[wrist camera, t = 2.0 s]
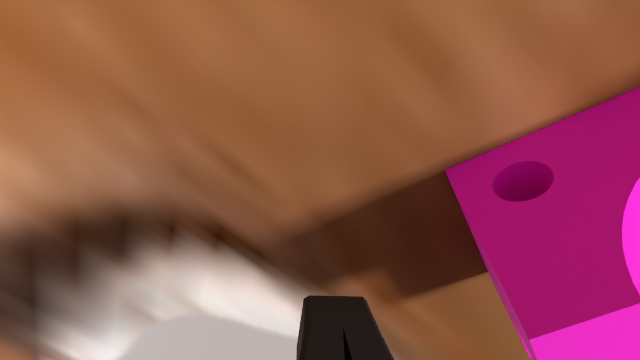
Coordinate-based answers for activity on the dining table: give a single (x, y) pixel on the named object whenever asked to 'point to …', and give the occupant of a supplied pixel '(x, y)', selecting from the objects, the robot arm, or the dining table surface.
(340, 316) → the robot arm
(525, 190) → the toy block
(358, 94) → the dining table surface
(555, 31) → the dining table surface
